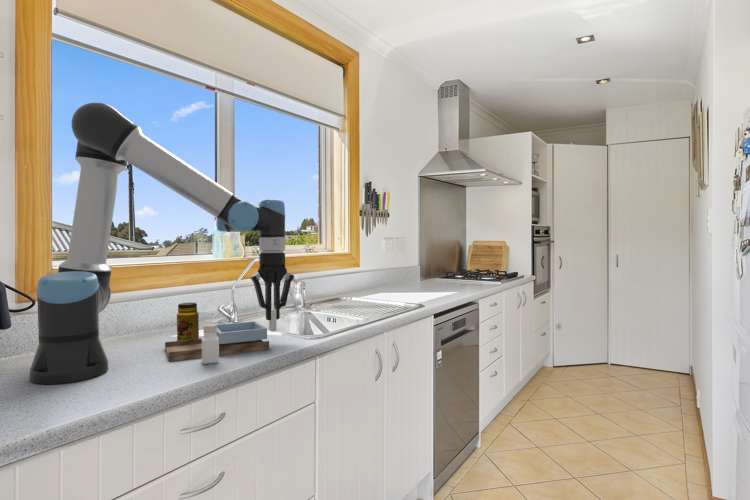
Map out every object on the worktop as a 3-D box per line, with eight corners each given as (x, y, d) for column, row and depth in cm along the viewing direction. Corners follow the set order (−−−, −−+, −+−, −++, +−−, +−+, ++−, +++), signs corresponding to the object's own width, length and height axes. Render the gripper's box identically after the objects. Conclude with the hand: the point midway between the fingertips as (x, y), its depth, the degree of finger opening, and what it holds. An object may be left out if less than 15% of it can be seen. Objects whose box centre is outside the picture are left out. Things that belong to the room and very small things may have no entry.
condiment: (174, 346, 133) (173, 305, 132) (177, 340, 141) (177, 301, 140) (200, 345, 135) (200, 304, 135) (202, 338, 143) (202, 300, 143)
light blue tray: (219, 350, 123) (219, 333, 123) (211, 341, 135) (211, 324, 135) (267, 345, 130) (267, 328, 129) (255, 336, 141) (255, 321, 141)
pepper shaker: (201, 361, 118) (201, 324, 117) (218, 359, 119) (218, 323, 119) (202, 365, 114) (201, 327, 114) (219, 363, 115) (218, 325, 115)
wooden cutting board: (169, 361, 117) (168, 352, 117) (165, 349, 129) (164, 341, 129) (269, 349, 130) (269, 341, 130) (257, 339, 142) (257, 332, 141)
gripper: (253, 252, 130) (253, 335, 130) (297, 251, 136) (297, 330, 137) (247, 251, 136) (247, 330, 137) (289, 251, 143) (289, 326, 143)
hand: (272, 330), depth 137 cm, fingers closed
